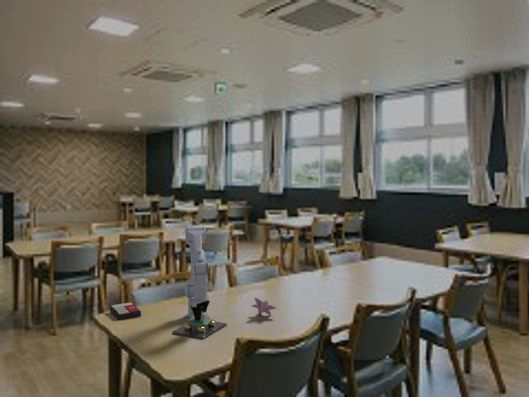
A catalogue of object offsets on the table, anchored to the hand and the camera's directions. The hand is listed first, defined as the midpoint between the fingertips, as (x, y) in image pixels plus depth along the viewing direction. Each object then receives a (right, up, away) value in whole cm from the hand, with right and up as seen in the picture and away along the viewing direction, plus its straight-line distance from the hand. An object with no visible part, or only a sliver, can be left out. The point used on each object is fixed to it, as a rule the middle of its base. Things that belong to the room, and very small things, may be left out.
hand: (200, 318), depth 203 cm
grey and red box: (-40, -4, +21) cm, 46 cm away
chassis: (0, -5, 0) cm, 5 cm away
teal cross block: (0, -2, 0) cm, 2 cm away
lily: (+28, -5, +20) cm, 35 cm away
